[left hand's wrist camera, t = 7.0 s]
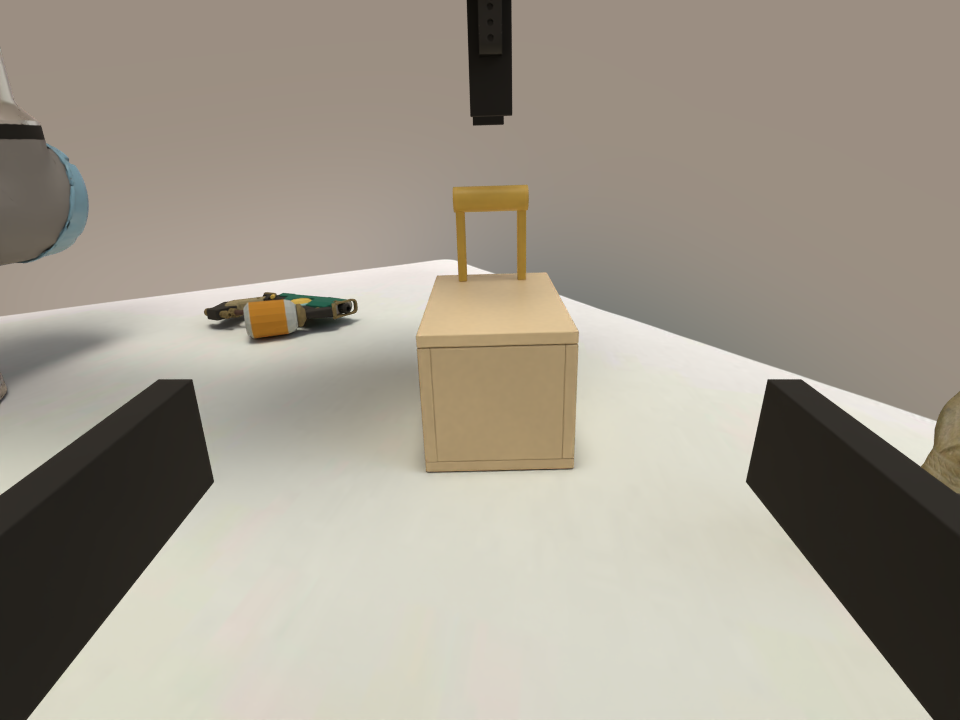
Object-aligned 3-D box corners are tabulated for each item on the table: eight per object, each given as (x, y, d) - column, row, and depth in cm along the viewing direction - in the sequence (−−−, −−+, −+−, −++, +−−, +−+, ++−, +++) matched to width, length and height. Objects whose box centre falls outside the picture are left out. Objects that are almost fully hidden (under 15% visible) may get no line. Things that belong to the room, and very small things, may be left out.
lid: (437, 284, 49) (431, 185, 46) (546, 281, 49) (548, 182, 46) (416, 348, 33) (405, 204, 30) (578, 343, 33) (584, 198, 30)
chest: (442, 376, 52) (436, 286, 49) (545, 373, 52) (547, 283, 49) (426, 472, 36) (416, 349, 33) (573, 468, 36) (578, 344, 33)
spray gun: (202, 326, 71) (309, 307, 81) (245, 348, 59) (366, 323, 69) (195, 294, 70) (305, 278, 80) (238, 310, 58) (363, 290, 67)
